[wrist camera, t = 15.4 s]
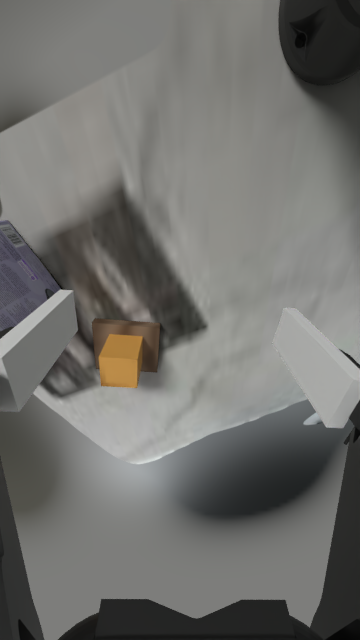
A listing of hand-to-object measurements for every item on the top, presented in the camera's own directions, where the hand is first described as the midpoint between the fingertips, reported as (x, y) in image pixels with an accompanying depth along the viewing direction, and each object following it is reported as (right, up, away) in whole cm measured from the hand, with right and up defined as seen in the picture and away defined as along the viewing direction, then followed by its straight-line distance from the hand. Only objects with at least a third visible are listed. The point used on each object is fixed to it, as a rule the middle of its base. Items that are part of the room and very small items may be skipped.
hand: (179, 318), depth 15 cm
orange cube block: (-12, -6, +37) cm, 39 cm away
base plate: (-12, -6, +39) cm, 41 cm away
